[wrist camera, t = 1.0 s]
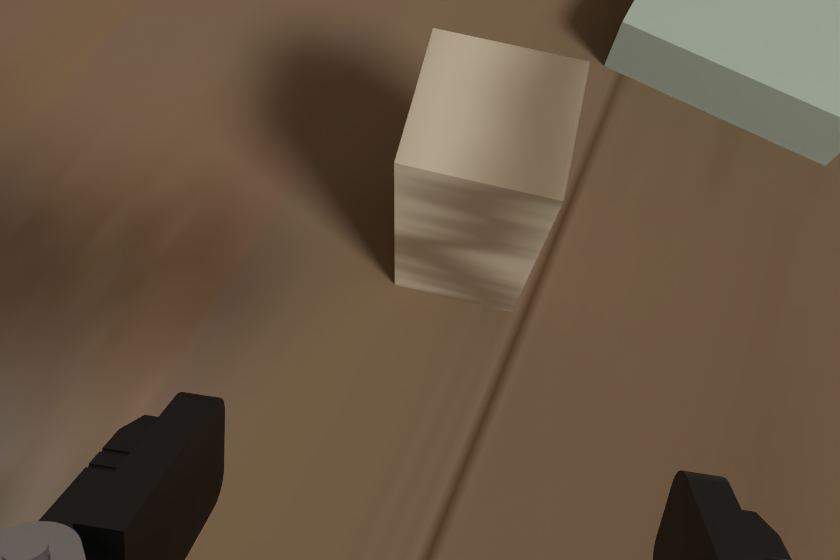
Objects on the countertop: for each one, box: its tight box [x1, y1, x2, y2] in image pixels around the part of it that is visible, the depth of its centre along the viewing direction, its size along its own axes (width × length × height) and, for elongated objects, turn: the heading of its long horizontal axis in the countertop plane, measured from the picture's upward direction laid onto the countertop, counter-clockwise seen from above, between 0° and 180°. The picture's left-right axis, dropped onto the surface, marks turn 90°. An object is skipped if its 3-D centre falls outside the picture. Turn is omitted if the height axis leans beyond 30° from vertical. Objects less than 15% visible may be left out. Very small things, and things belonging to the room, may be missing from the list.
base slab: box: [604, 0, 840, 166], centre depth 35 cm, size 11×11×4 cm
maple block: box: [394, 28, 590, 312], centre depth 27 cm, size 5×5×10 cm
